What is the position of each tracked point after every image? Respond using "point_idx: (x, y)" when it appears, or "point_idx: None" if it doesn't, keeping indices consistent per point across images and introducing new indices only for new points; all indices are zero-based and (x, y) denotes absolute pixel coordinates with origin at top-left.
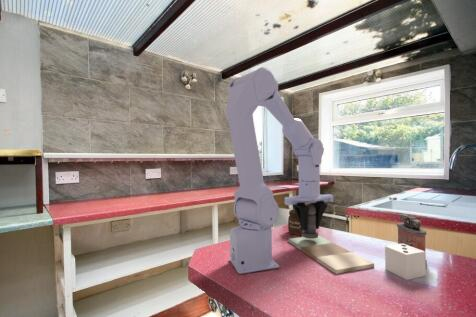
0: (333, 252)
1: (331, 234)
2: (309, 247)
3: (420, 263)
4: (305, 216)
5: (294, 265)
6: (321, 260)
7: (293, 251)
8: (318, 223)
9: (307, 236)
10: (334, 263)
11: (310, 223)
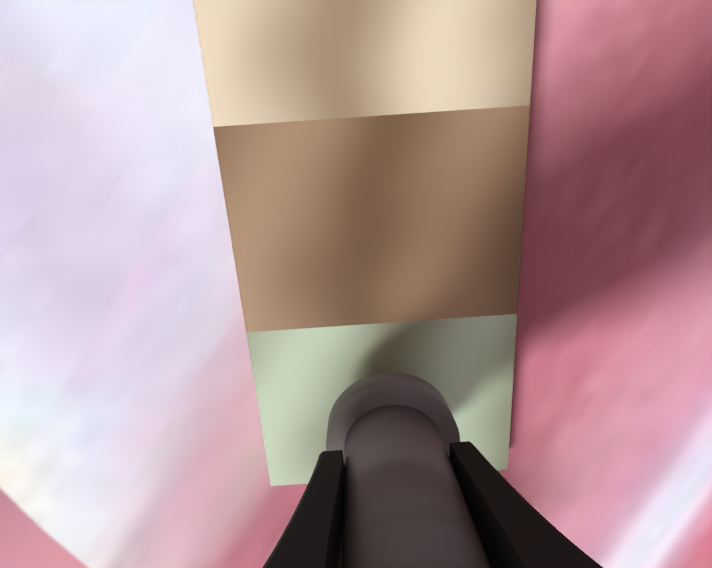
0: (353, 156)
1: (150, 505)
2: (464, 291)
3: None
4: (562, 564)
5: (701, 80)
6: (531, 36)
7: (563, 300)
8: (325, 487)
9: (439, 397)
10: None
11: (438, 482)
